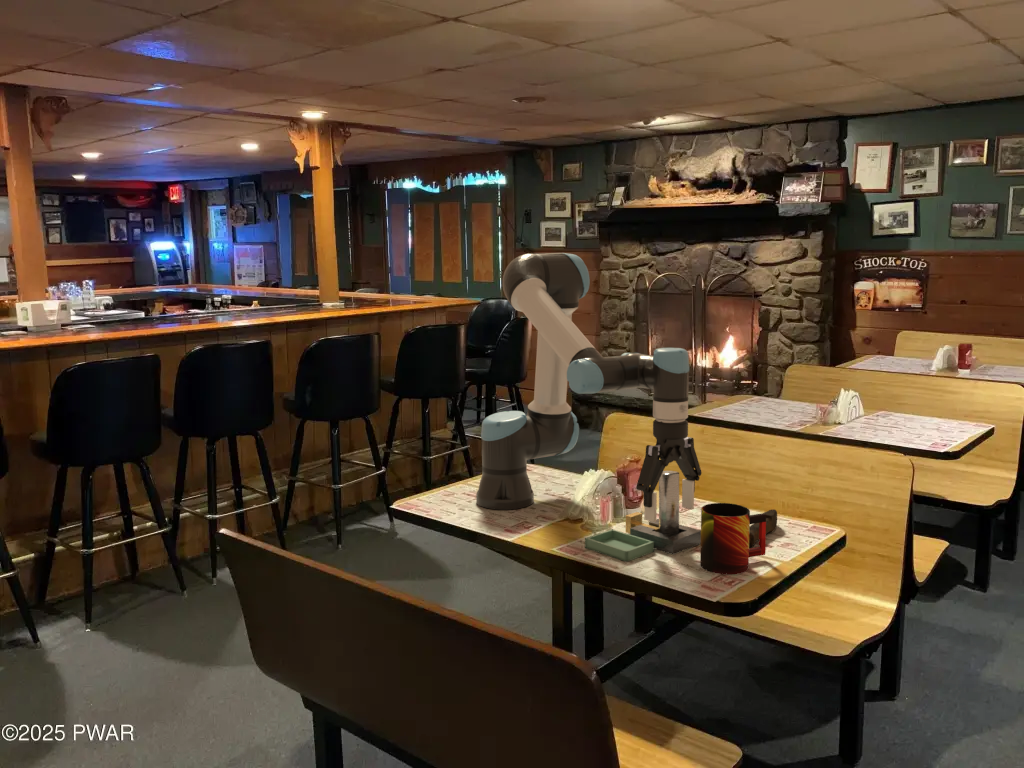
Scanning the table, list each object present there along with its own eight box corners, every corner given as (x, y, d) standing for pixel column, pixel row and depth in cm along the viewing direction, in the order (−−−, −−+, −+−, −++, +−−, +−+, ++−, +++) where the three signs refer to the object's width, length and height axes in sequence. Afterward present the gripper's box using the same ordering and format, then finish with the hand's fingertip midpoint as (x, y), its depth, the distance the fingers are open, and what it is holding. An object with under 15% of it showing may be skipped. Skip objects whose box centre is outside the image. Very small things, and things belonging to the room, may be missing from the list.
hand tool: (752, 550, 181) (753, 530, 180) (735, 546, 184) (736, 526, 183) (787, 529, 195) (788, 509, 195) (770, 525, 198) (771, 506, 197)
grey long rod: (655, 543, 186) (654, 473, 184) (667, 538, 189) (667, 469, 187) (671, 547, 183) (671, 476, 181) (683, 543, 186) (683, 472, 184)
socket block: (630, 541, 188) (630, 528, 187) (658, 531, 194) (658, 518, 194) (673, 554, 179) (673, 541, 178) (701, 543, 185) (701, 530, 185)
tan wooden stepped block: (625, 532, 193) (625, 515, 192) (636, 528, 195) (637, 511, 195) (651, 540, 187) (651, 522, 186) (662, 536, 190) (662, 519, 189)
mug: (766, 559, 175) (767, 504, 173) (734, 578, 165) (736, 520, 163) (724, 549, 182) (725, 495, 180) (691, 567, 172) (692, 510, 170)
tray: (584, 547, 184) (584, 538, 184) (612, 538, 190) (612, 529, 189) (626, 561, 175) (626, 551, 175) (653, 551, 181) (654, 541, 180)
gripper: (647, 429, 171) (646, 530, 174) (718, 414, 187) (716, 506, 190) (619, 425, 176) (619, 522, 179) (691, 409, 192) (689, 499, 196)
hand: (669, 514), depth 185 cm, fingers open, 12 cm apart
